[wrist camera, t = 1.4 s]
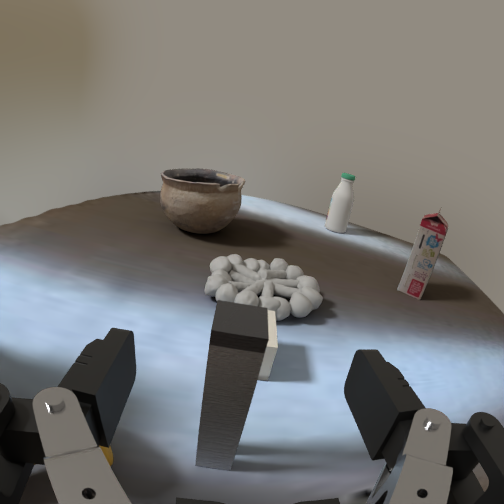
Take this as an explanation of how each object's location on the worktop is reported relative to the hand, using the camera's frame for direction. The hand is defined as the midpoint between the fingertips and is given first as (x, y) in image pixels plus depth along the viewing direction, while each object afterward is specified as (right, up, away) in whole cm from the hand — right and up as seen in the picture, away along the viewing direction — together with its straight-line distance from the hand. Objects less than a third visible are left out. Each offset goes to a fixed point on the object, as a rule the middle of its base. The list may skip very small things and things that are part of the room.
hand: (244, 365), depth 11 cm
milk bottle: (+29, +12, +98) cm, 103 cm away
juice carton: (+40, -6, +62) cm, 74 cm away
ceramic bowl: (-15, +10, +75) cm, 78 cm away
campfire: (+2, -5, +49) cm, 49 cm away
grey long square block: (-4, -17, +17) cm, 24 cm away
